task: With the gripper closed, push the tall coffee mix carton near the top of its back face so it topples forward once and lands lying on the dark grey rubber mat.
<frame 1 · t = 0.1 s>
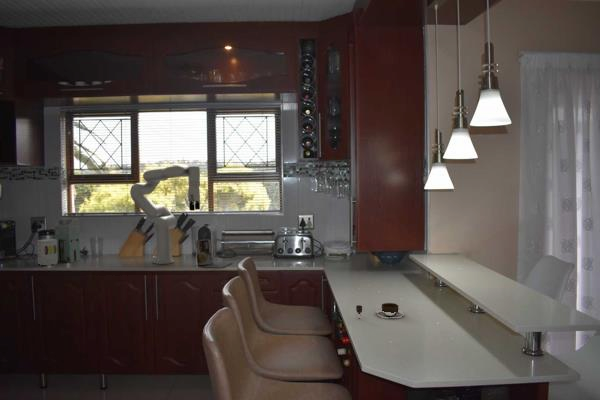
hand: (194, 209, 318), 36 cm above the worktop, tool pointing down, fingers open, 9 cm apart
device: (67, 261, 336), on the worktop
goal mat: (218, 265, 314), on the worktop
coffee box: (205, 264, 317), on the worktop, touching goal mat
supplement box: (47, 264, 324), on the worktop
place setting: (380, 316, 202), on the worktop
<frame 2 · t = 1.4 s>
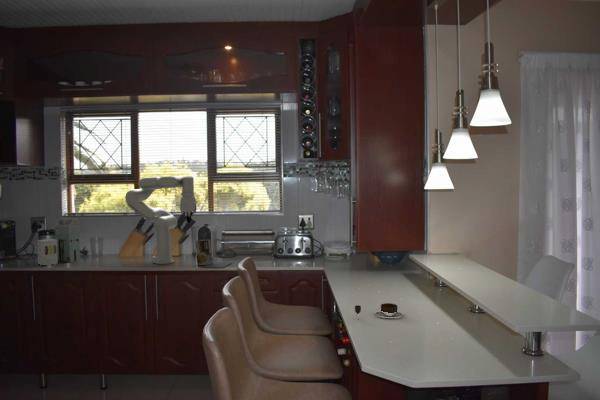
hand: (188, 222, 318), 28 cm above the worktop, tool pointing down, fingers closed
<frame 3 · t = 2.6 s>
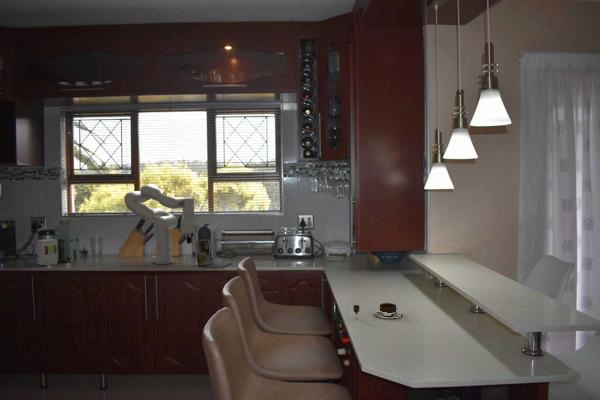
hand: (189, 243, 319), 14 cm above the worktop, tool pointing down, fingers closed
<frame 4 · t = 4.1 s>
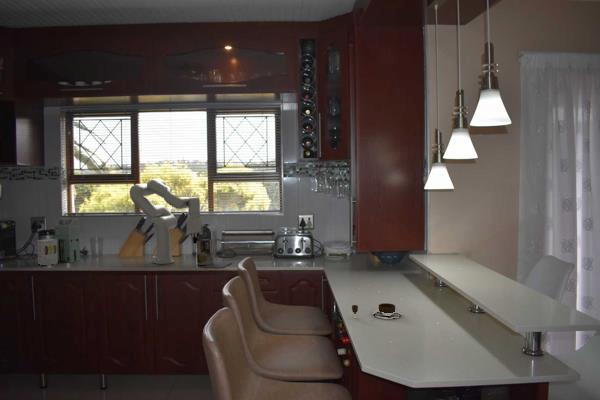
hand: (195, 243, 318), 14 cm above the worktop, tool pointing down, fingers closed
coffee box: (205, 264, 317), on the worktop, touching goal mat, gripper
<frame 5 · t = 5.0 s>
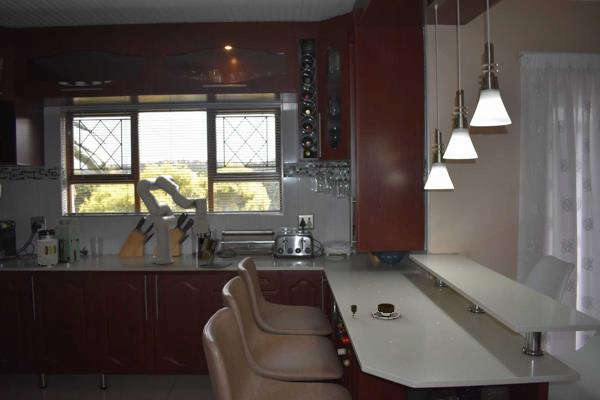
hand: (202, 243, 317), 14 cm above the worktop, tool pointing down, fingers closed
coffee box: (205, 261, 317), point 2 cm above the worktop, touching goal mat, gripper
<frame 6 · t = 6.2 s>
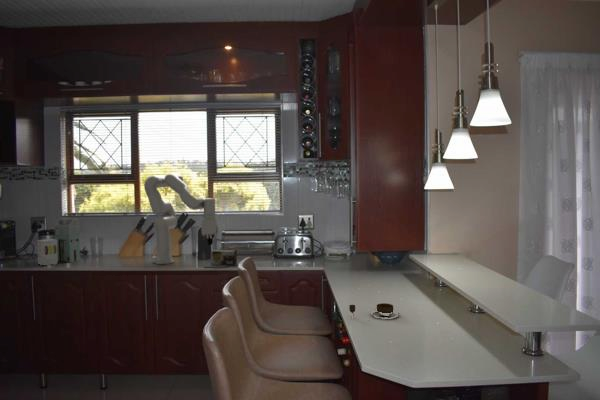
hand: (210, 244, 315), 14 cm above the worktop, tool pointing down, fingers closed
coffee box: (211, 257, 316), point 5 cm above the worktop, touching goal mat
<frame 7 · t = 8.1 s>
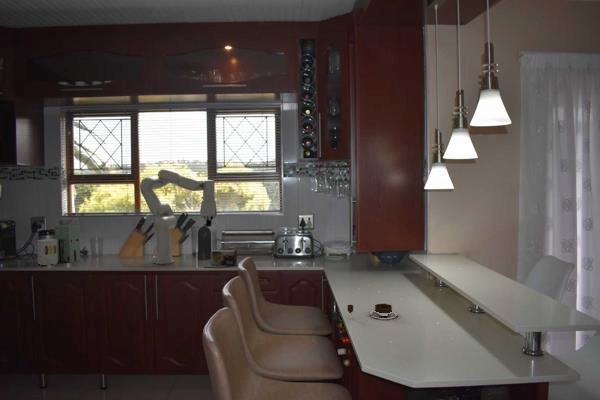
hand: (208, 226, 316), 26 cm above the worktop, tool pointing down, fingers closed
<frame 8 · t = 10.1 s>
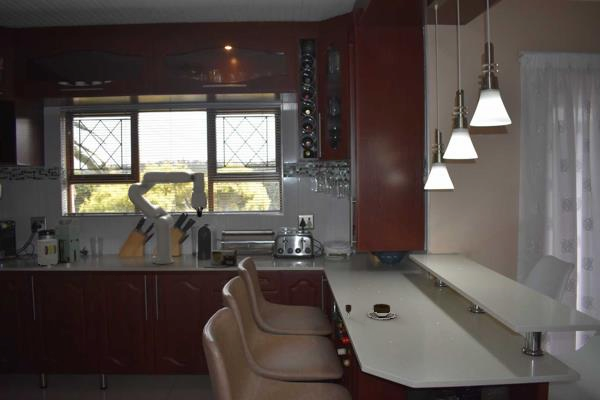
hand: (199, 217, 324), 31 cm above the worktop, tool pointing down, fingers closed
at the end: coffee box tilted 91°; coffee box touching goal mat; coffee box inside the target area (1.7 cm from its centre), point 5.2 cm above the worktop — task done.
